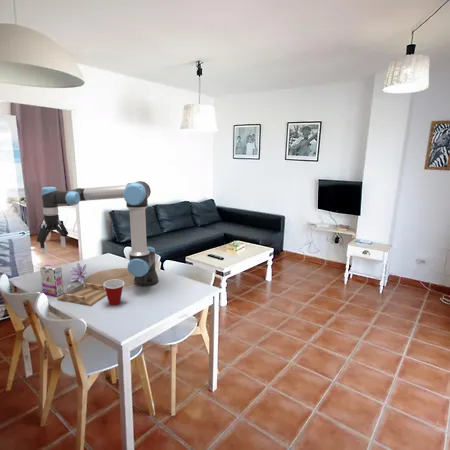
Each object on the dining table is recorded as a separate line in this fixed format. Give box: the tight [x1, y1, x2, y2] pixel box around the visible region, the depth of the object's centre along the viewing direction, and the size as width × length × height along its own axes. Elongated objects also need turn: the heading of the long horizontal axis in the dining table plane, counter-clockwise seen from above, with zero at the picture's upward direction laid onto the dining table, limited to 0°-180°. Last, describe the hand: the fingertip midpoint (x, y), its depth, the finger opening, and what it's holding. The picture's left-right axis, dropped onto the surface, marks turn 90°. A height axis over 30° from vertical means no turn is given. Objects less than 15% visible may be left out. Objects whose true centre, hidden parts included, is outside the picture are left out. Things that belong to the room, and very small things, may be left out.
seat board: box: [56, 282, 107, 307], centre depth 181 cm, size 22×18×5 cm
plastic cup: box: [102, 278, 125, 306], centre depth 172 cm, size 11×11×12 cm
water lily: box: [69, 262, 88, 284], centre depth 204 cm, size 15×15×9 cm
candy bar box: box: [40, 264, 64, 298], centre depth 182 cm, size 11×5×16 cm, turn 68°
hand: (54, 250), depth 185 cm, fingers open, 13 cm apart
